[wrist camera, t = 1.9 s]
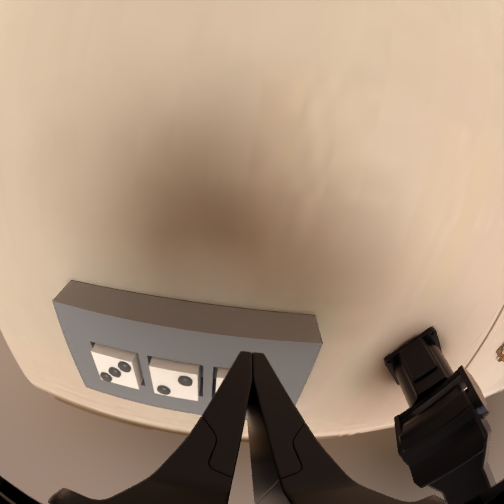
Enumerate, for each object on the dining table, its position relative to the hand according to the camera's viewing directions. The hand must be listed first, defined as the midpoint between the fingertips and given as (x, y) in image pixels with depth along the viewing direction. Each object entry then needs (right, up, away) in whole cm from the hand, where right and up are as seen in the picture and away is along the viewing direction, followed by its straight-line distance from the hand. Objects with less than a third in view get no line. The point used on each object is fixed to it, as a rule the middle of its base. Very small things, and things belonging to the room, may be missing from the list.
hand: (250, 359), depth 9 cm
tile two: (-6, -6, +13) cm, 16 cm away
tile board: (-6, -5, +15) cm, 17 cm away
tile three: (-12, -6, +12) cm, 18 cm away
